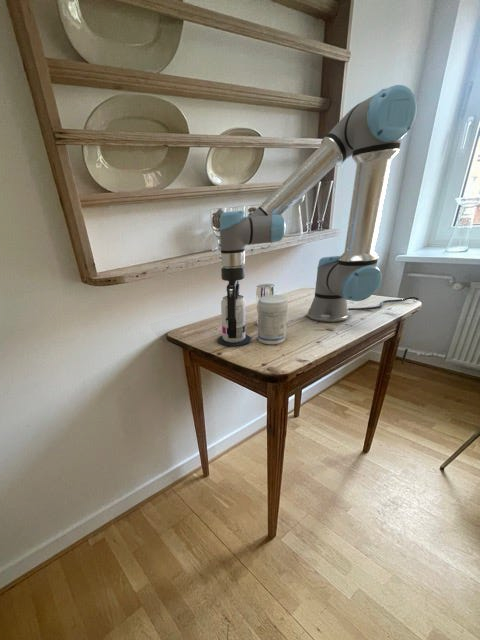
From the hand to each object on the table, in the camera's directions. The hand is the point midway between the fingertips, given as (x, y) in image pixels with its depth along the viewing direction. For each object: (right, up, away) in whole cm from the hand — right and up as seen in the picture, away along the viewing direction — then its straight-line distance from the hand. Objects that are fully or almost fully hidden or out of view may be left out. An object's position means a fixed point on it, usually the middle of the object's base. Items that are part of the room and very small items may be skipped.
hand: (233, 333), depth 107 cm
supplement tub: (+13, -3, -2) cm, 13 cm away
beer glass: (+14, +6, +14) cm, 21 cm away
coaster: (0, -2, +1) cm, 3 cm away
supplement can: (0, -2, +1) cm, 2 cm away
